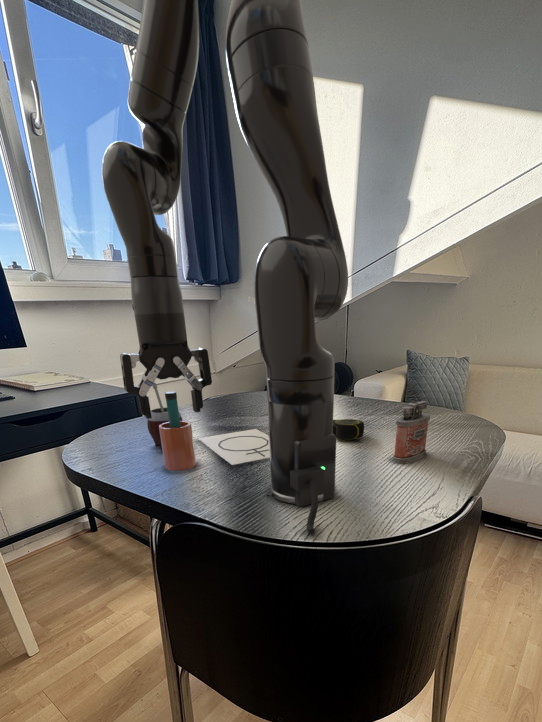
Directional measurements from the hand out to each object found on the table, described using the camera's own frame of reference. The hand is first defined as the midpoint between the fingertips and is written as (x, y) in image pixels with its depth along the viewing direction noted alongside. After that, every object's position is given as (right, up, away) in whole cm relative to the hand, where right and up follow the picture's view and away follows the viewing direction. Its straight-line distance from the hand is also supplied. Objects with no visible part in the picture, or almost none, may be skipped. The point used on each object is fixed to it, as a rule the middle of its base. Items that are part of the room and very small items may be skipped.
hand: (173, 414), depth 71 cm
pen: (0, -8, +4) cm, 9 cm away
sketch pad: (+11, -4, +14) cm, 19 cm away
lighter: (+42, -7, +5) cm, 43 cm away
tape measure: (+33, -1, +18) cm, 37 cm away
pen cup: (0, -9, +4) cm, 10 cm away
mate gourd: (-5, -4, +15) cm, 17 cm away
